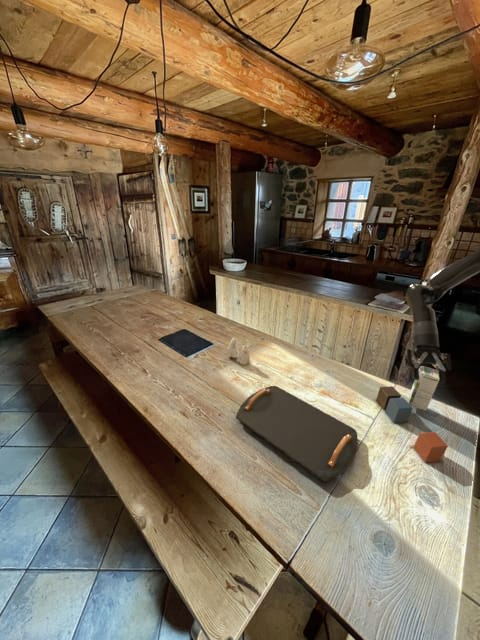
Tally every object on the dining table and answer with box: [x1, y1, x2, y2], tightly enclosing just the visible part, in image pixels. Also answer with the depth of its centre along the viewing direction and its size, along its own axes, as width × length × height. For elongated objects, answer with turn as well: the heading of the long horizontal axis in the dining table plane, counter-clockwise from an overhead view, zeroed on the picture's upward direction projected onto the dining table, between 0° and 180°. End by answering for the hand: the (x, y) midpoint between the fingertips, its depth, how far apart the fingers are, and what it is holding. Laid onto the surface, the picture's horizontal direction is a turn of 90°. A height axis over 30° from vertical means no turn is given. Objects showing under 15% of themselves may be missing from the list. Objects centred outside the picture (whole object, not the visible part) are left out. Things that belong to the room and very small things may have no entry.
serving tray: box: [235, 385, 359, 483], centre depth 87 cm, size 39×23×6 cm, turn 48°
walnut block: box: [375, 385, 402, 411], centre depth 98 cm, size 5×5×6 cm
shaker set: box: [225, 337, 251, 365], centre depth 122 cm, size 12×4×11 cm, turn 52°
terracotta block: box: [413, 431, 449, 463], centre depth 80 cm, size 5×5×6 cm
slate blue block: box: [384, 397, 413, 424], centre depth 93 cm, size 5×5×6 cm
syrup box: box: [407, 365, 439, 411], centre depth 95 cm, size 6×6×14 cm
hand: (429, 381), depth 91 cm, fingers closed on syrup box, 7 cm apart
